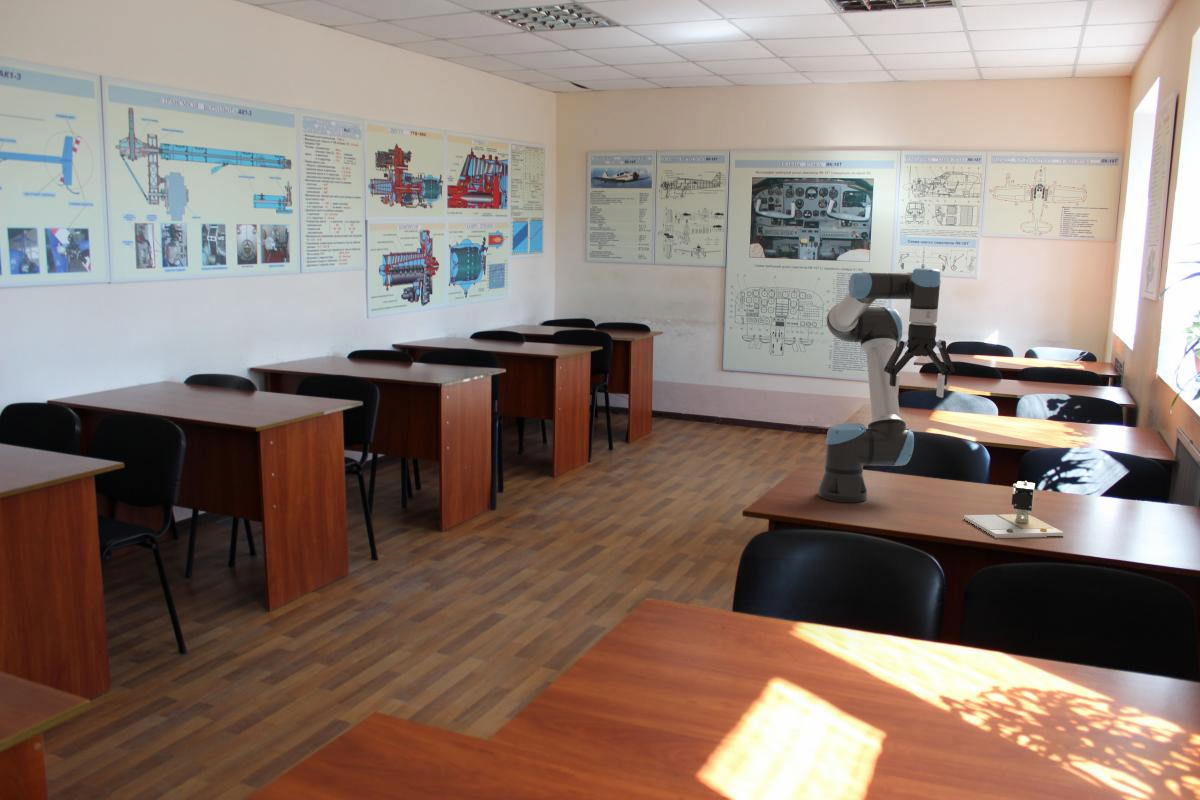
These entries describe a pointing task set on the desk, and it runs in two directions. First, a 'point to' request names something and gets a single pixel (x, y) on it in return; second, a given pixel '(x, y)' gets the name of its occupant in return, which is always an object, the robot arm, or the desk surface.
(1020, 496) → the pneumatic valve
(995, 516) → the board
